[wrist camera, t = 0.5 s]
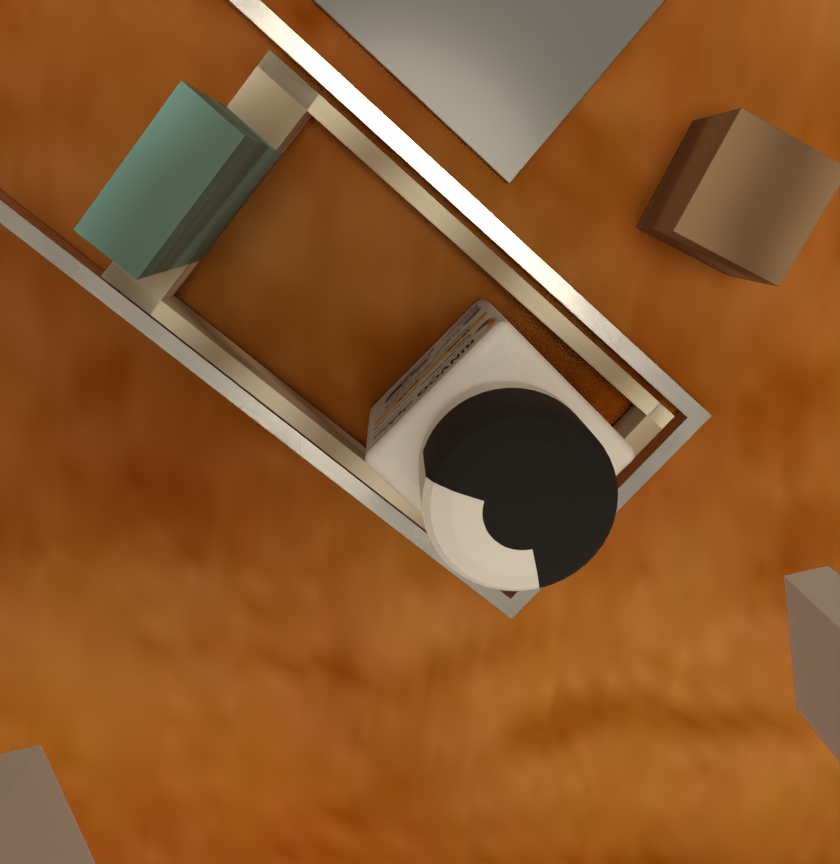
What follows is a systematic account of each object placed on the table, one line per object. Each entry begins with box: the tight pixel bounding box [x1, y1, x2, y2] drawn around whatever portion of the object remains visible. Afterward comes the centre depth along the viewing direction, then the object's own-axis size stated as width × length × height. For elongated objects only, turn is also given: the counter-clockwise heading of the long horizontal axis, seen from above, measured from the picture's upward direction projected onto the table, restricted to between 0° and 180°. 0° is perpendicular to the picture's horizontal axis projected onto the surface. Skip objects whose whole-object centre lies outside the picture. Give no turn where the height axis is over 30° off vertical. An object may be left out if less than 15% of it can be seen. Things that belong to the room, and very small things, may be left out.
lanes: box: [0, 0, 711, 619], centre depth 35 cm, size 32×14×1 cm, turn 49°
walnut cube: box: [636, 108, 840, 286], centre depth 33 cm, size 5×5×5 cm
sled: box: [74, 49, 674, 591], centre depth 32 cm, size 23×12×9 cm, turn 49°
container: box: [365, 299, 634, 591], centre depth 31 cm, size 8×8×13 cm
